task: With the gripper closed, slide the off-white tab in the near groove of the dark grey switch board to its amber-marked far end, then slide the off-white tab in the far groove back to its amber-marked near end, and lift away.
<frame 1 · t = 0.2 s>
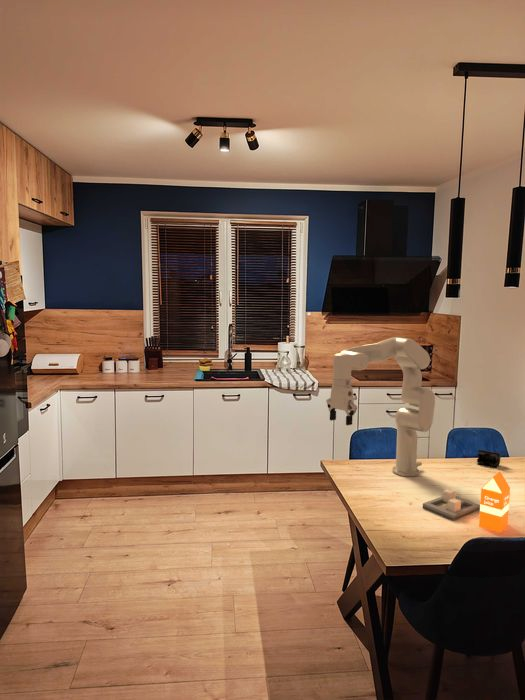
hand: (340, 422, 217), 31 cm above the table, tool pointing down, fingers open, 9 cm apart
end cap: (488, 465, 258), on the table
switch board: (451, 508, 204), on the table
orange juice: (493, 526, 190), on the table
tab a: (449, 496, 209), point 3 cm above the table, slide at -3.5 cm
tab b: (454, 505, 199), point 3 cm above the table, slide at 3.5 cm
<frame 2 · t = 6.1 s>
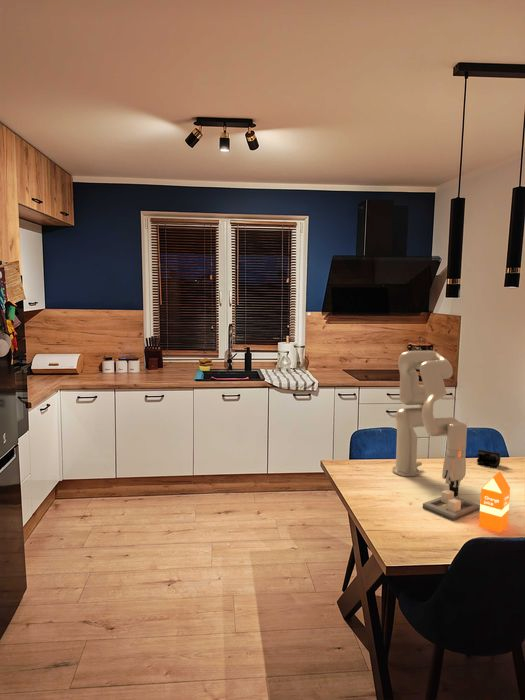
hand: (453, 495, 211), 3 cm above the table, tool pointing down, fingers closed
tab a: (447, 496, 208), point 3 cm above the table, slide at -2.3 cm, touching gripper
everything else where it was.
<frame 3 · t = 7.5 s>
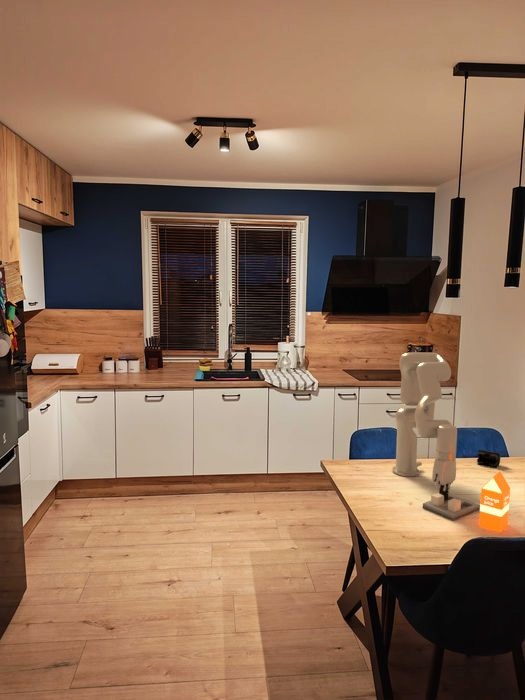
hand: (443, 499, 207), 3 cm above the table, tool pointing down, fingers closed
tab a: (437, 500, 204), point 3 cm above the table, slide at 4.5 cm, touching gripper
everything else where it was.
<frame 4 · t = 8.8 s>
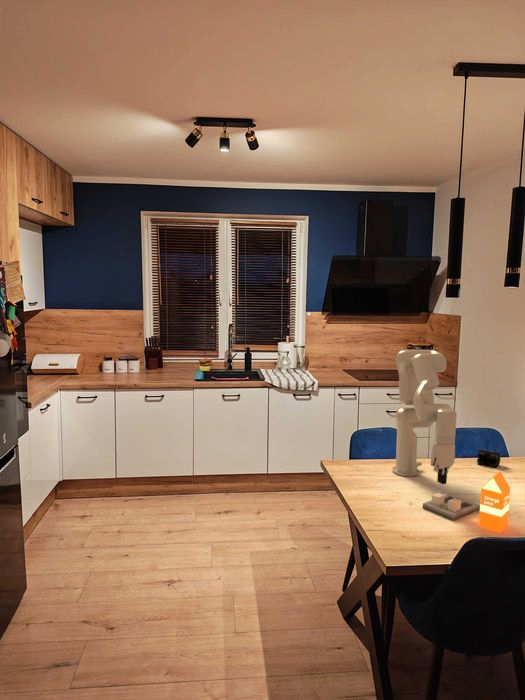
hand: (441, 482, 206), 10 cm above the table, tool pointing down, fingers closed
tab a: (438, 500, 205), point 3 cm above the table, slide at 4.1 cm
everything else where it was.
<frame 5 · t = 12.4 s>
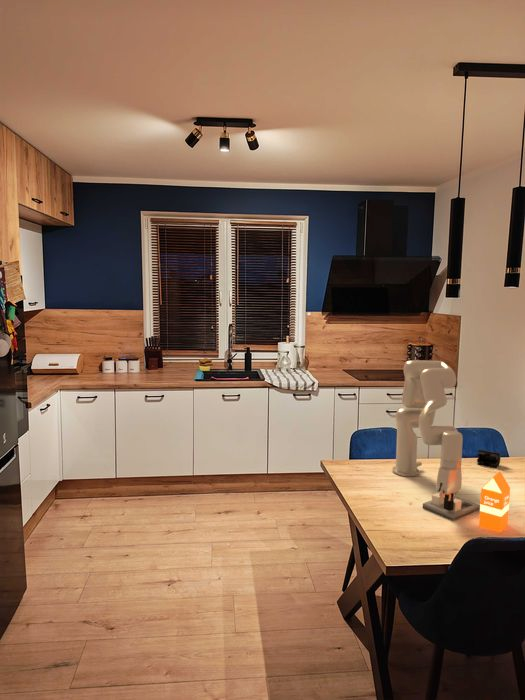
hand: (448, 509, 197), 3 cm above the table, tool pointing down, fingers closed
tab b: (454, 505, 199), point 3 cm above the table, slide at 3.1 cm, touching gripper
everything else where it was.
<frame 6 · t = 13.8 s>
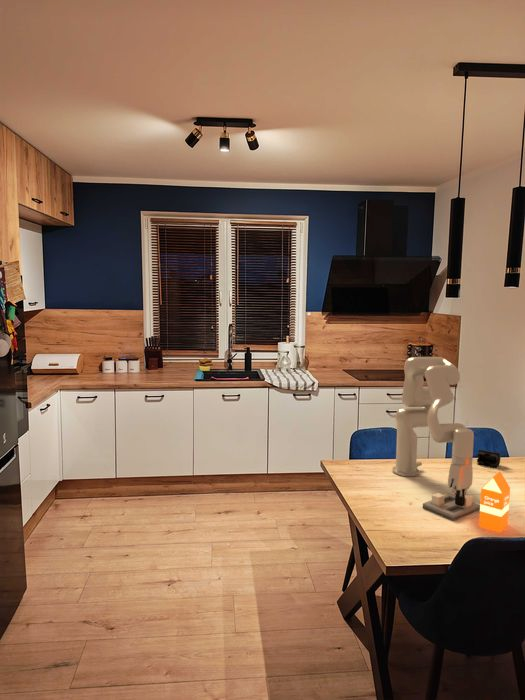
hand: (459, 504, 201), 3 cm above the table, tool pointing down, fingers closed
tab b: (465, 501, 204), point 3 cm above the table, slide at -4.2 cm, touching gripper
everything else where it was.
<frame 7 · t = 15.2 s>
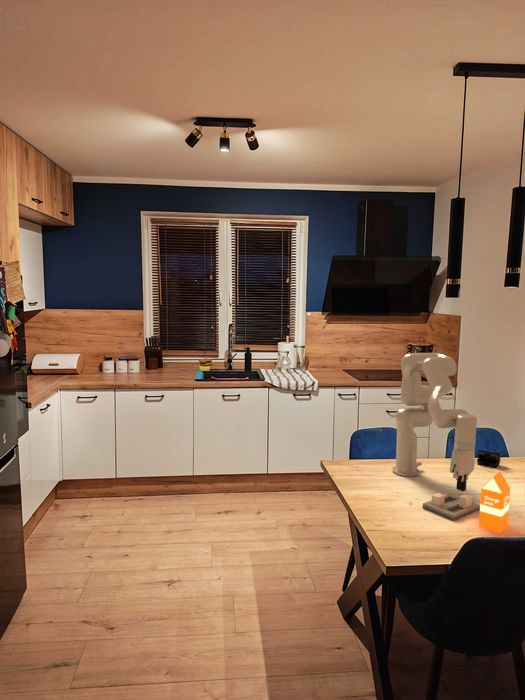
hand: (461, 489, 202), 8 cm above the table, tool pointing down, fingers closed
tab b: (465, 501, 204), point 3 cm above the table, slide at -4.1 cm
everything else where it was.
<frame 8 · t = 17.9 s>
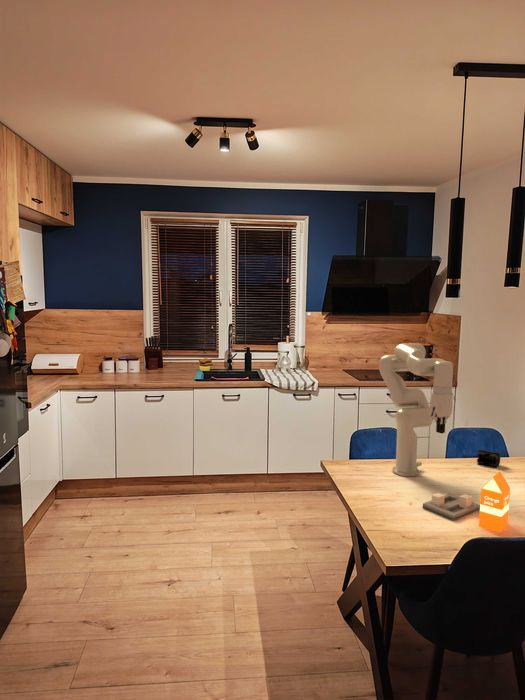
hand: (440, 432, 217), 27 cm above the table, tool pointing down, fingers closed
nothing on the table moved.
at the end: tab a slide at 4.1 cm; tab b slide at -4.1 cm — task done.
